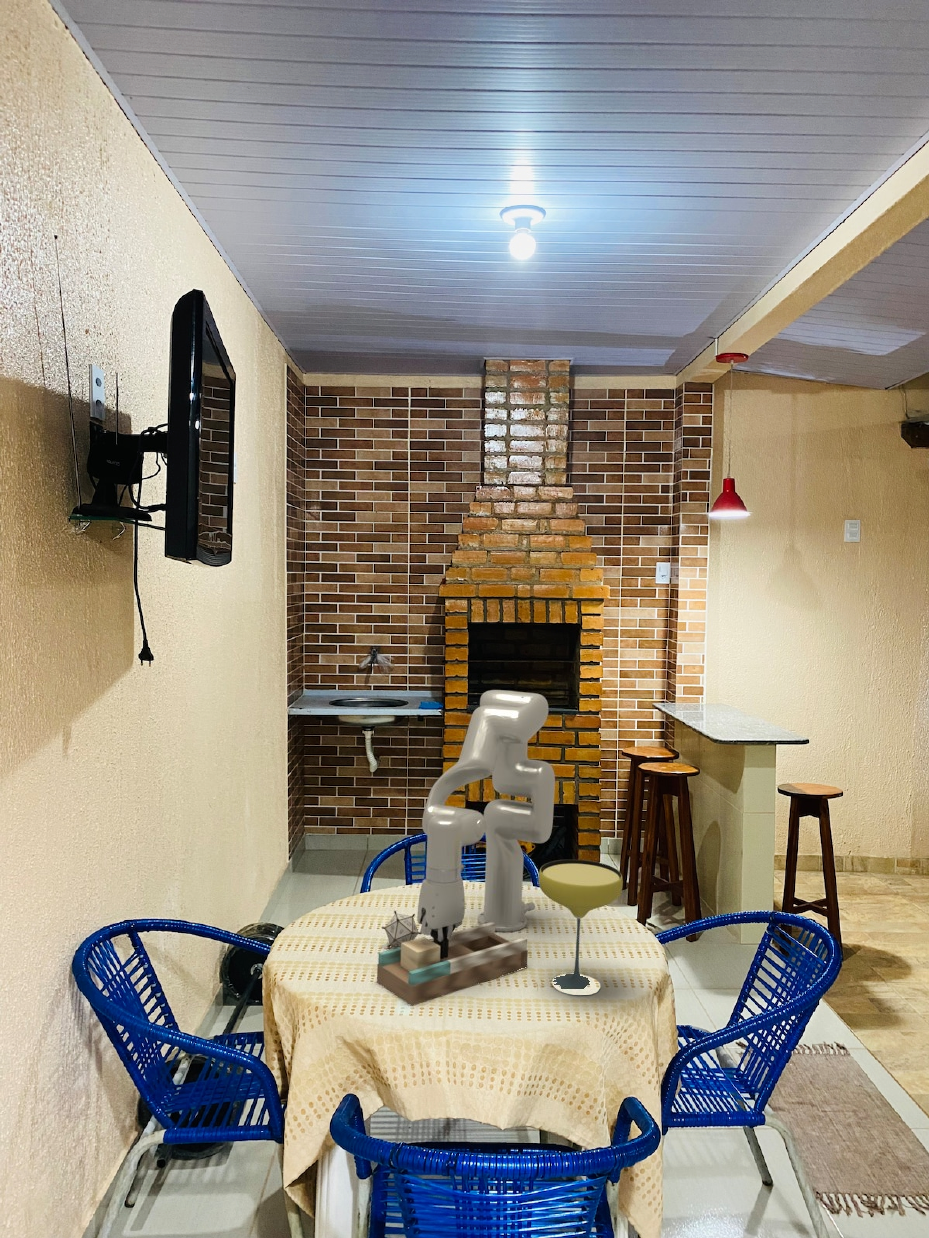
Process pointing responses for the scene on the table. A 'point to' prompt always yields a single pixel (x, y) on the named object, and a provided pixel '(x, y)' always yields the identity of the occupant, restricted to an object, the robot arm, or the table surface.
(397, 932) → the game die
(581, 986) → the cocktail glass
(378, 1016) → the table surface
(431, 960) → the maple block
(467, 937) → the trap deck
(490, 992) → the table surface
